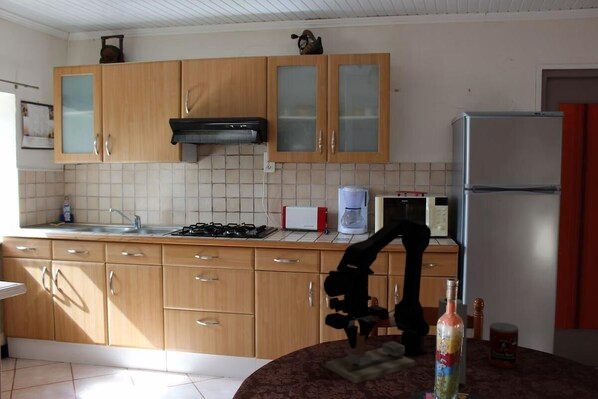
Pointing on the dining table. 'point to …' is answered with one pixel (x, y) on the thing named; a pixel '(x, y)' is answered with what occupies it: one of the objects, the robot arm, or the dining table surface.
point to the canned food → (503, 345)
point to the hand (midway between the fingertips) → (357, 347)
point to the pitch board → (373, 363)
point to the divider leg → (359, 352)
